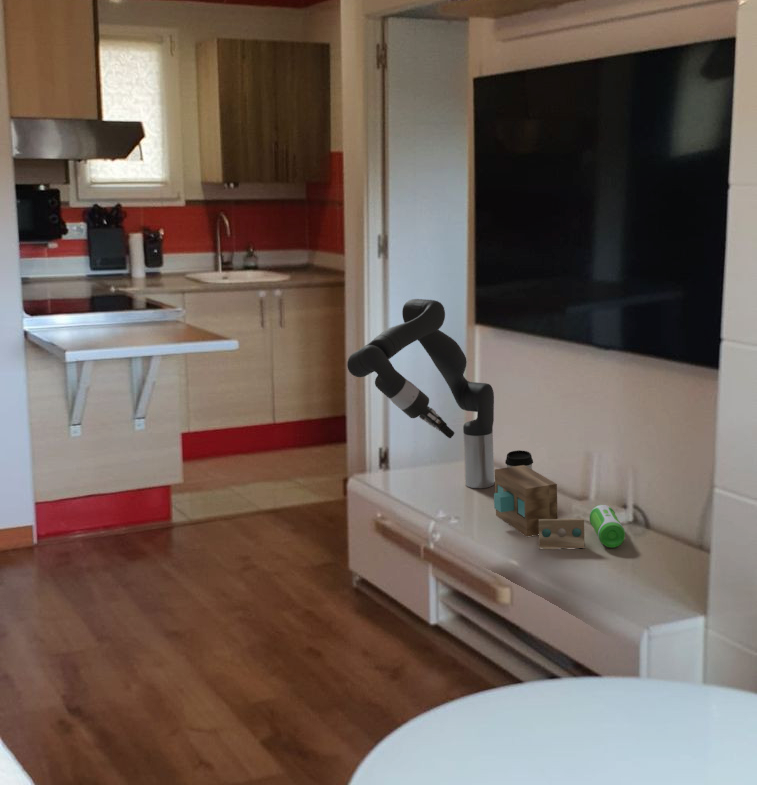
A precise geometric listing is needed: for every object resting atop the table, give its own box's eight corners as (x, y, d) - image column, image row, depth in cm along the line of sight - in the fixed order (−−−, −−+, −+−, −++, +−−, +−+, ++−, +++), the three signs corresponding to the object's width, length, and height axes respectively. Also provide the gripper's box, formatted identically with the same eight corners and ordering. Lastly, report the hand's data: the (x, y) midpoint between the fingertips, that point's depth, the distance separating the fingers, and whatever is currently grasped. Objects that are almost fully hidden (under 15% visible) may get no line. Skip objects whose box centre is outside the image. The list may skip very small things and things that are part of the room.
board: (539, 542, 319) (538, 515, 317) (583, 542, 317) (583, 514, 315) (539, 549, 314) (538, 521, 312) (584, 548, 312) (584, 520, 311)
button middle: (500, 512, 329) (500, 497, 328) (494, 508, 333) (493, 493, 332) (520, 509, 331) (519, 494, 330) (513, 504, 335) (513, 490, 334)
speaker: (626, 549, 311) (626, 522, 309) (599, 550, 311) (598, 523, 309) (614, 527, 328) (614, 501, 326) (588, 528, 328) (588, 503, 326)
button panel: (526, 537, 324) (525, 488, 321) (496, 515, 343) (494, 469, 340) (557, 531, 326) (556, 483, 323) (525, 510, 346) (524, 465, 343)
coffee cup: (533, 496, 358) (532, 449, 355) (534, 505, 350) (533, 457, 346) (506, 497, 359) (504, 450, 356) (506, 506, 351) (505, 458, 347)
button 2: (524, 517, 324) (524, 502, 323) (518, 512, 328) (517, 497, 327) (544, 514, 325) (544, 499, 324) (537, 509, 330) (537, 494, 329)
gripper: (425, 392, 314) (469, 430, 321) (408, 383, 327) (451, 419, 333) (407, 413, 314) (452, 451, 320) (391, 403, 326) (434, 440, 332)
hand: (451, 435), depth 327 cm, fingers closed
